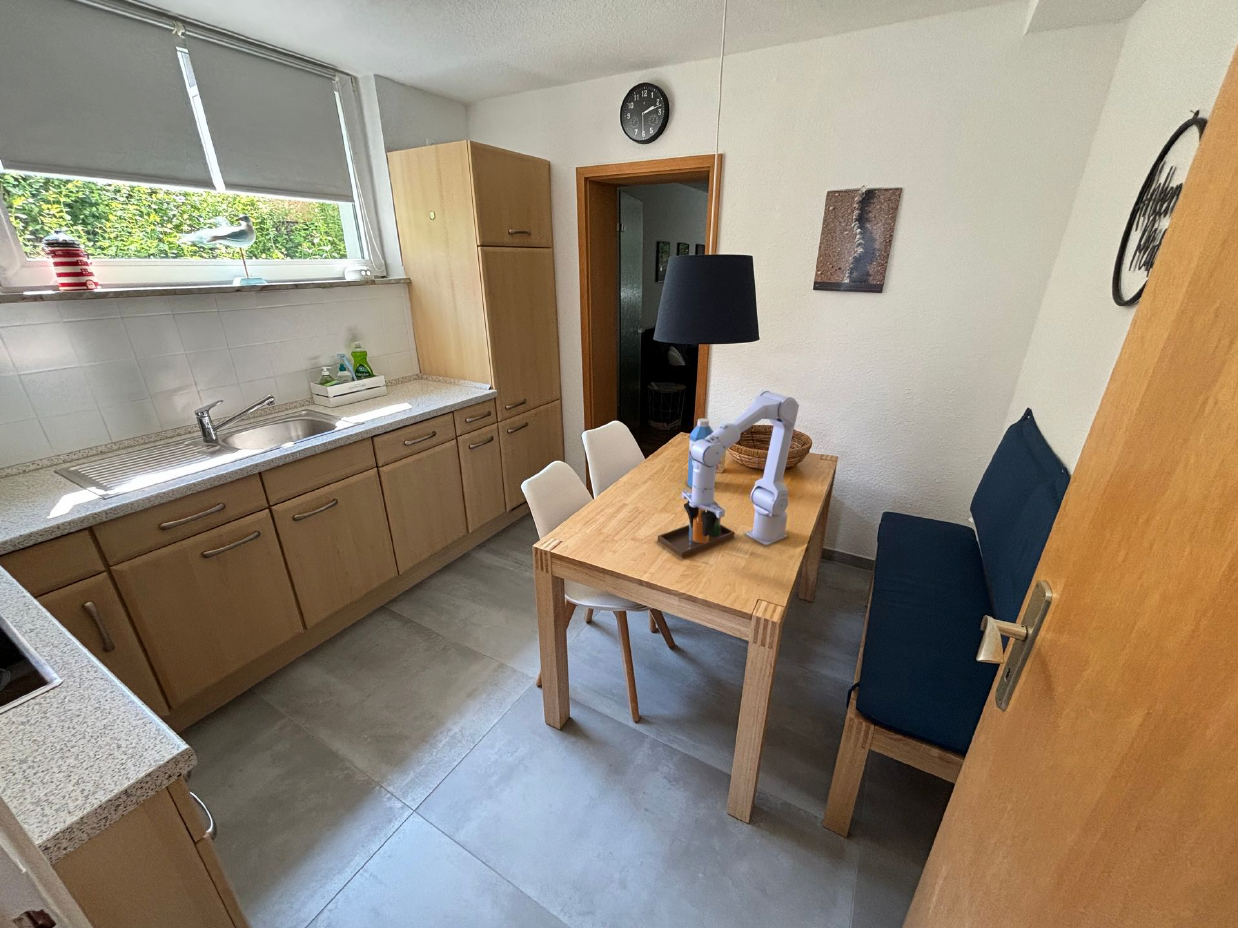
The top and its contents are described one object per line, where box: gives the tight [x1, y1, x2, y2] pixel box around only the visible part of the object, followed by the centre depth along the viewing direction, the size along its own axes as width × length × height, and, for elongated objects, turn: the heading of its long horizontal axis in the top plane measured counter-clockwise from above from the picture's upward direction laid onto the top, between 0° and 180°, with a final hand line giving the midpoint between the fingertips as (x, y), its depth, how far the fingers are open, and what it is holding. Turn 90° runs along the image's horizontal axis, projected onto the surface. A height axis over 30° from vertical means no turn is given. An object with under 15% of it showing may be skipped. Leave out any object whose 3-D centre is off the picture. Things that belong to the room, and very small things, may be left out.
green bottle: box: [709, 517, 722, 537], centre depth 149 cm, size 4×4×9 cm
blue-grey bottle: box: [688, 520, 698, 543], centre depth 146 cm, size 4×4×9 cm
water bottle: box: [687, 417, 714, 488], centre depth 181 cm, size 9×9×25 cm
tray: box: [657, 523, 735, 559], centre depth 148 cm, size 20×11×2 cm, turn 123°
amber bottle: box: [692, 508, 709, 543], centre depth 134 cm, size 4×4×9 cm
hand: (700, 530), depth 134 cm, fingers closed on amber bottle, 4 cm apart
